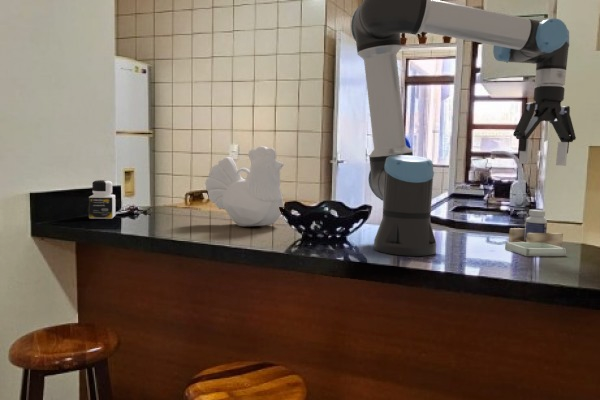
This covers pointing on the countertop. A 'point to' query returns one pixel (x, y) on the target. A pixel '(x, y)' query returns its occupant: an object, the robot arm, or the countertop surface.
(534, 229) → the pill bottle
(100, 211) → the medicine bottle
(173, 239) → the countertop surface
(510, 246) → the tray
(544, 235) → the clevis block
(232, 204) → the decorative rooster
